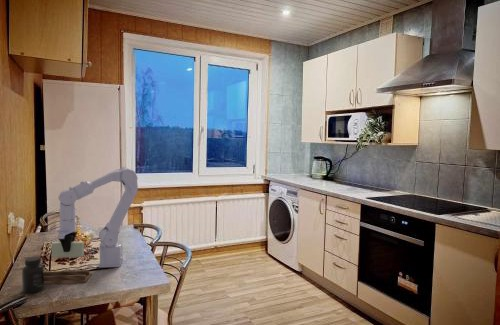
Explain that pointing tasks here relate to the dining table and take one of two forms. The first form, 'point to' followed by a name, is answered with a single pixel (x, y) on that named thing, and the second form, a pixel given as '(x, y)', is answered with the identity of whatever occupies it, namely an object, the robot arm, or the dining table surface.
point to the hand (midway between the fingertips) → (67, 250)
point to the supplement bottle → (32, 276)
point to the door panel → (75, 251)
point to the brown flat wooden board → (66, 277)
